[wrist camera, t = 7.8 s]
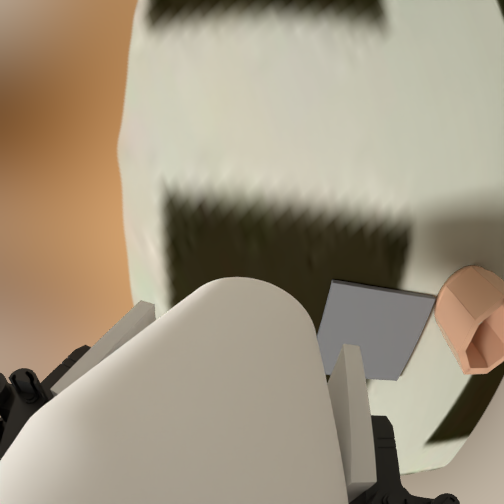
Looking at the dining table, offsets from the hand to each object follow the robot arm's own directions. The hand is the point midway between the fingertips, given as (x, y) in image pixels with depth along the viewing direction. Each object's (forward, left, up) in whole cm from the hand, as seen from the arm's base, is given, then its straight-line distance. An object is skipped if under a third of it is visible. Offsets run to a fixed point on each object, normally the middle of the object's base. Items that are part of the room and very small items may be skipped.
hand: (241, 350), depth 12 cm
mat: (+9, +12, -16) cm, 22 cm away
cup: (0, 0, -1) cm, 1 cm away
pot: (+3, +23, -16) cm, 28 cm away
